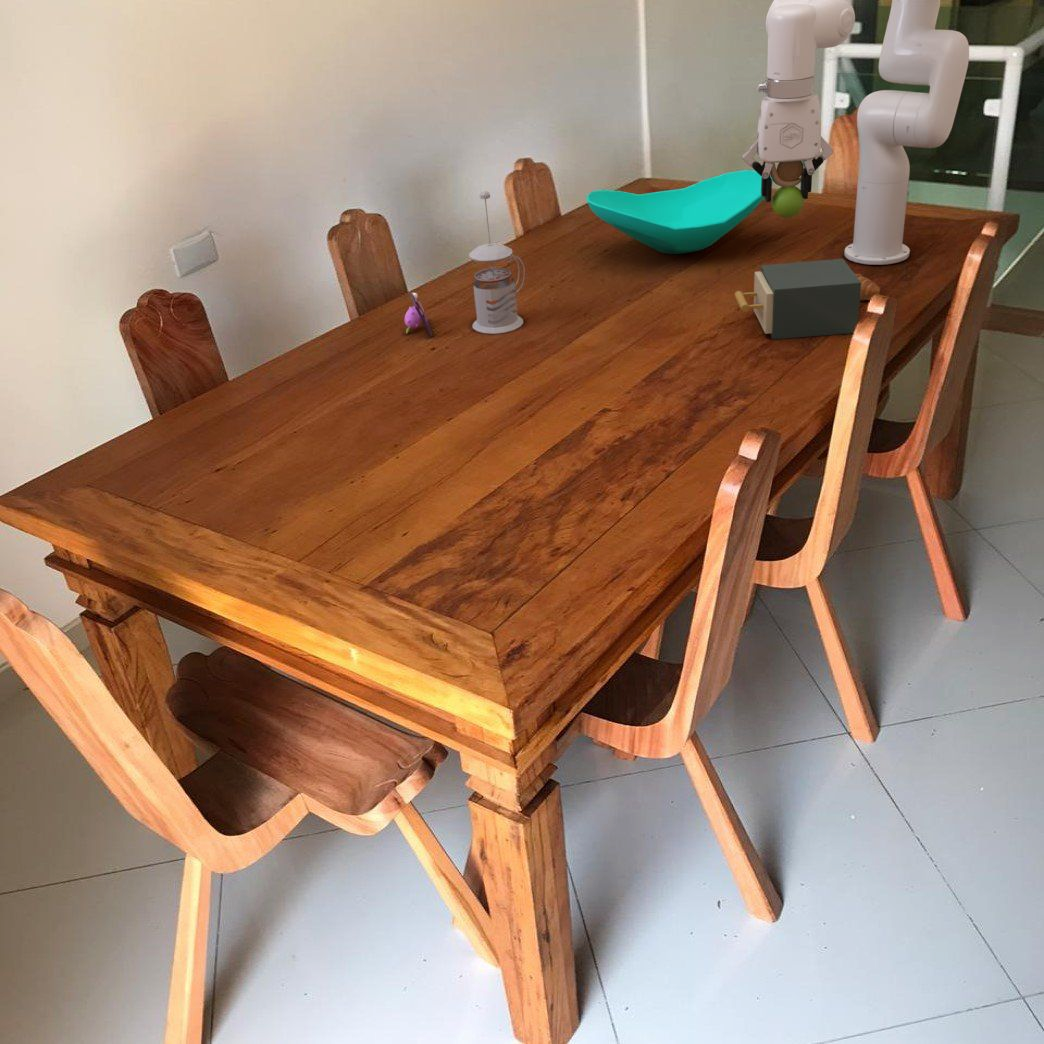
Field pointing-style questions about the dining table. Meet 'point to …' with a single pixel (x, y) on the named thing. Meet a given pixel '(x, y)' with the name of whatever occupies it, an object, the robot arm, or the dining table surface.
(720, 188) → the table top decor
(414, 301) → the purple plush toy
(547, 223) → the dining table surface
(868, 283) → the pastry
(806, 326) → the cabinet
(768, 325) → the drawer
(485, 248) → the french press
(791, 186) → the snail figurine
